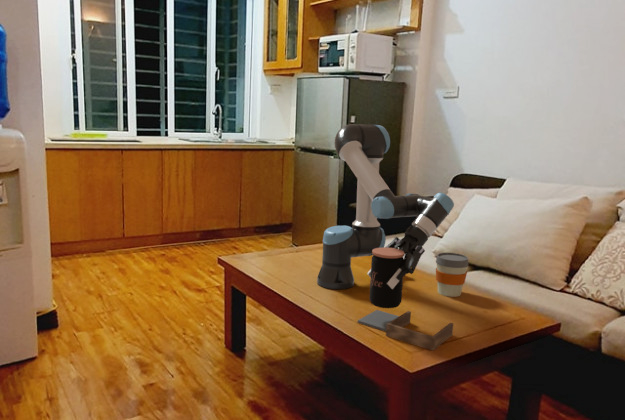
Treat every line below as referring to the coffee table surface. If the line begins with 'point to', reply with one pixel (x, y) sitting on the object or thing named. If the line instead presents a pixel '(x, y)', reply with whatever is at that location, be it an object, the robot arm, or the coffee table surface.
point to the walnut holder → (416, 333)
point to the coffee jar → (385, 277)
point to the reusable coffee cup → (451, 273)
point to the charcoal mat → (377, 319)
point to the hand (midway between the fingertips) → (379, 281)
